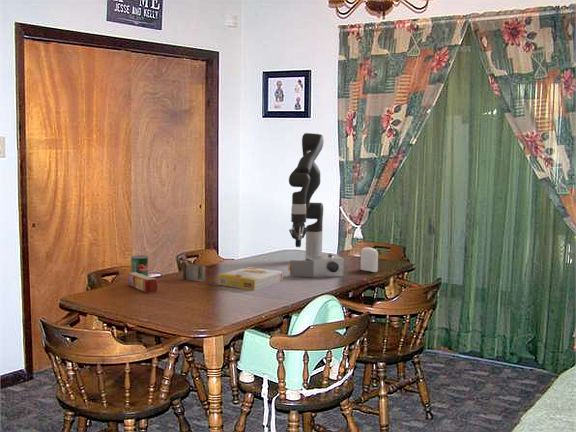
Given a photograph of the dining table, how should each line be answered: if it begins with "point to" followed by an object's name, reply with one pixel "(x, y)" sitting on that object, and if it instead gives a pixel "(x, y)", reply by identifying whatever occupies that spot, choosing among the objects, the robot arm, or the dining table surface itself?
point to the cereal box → (250, 278)
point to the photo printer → (369, 259)
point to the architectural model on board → (193, 272)
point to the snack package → (142, 282)
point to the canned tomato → (139, 264)
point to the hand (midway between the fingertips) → (298, 246)
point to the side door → (301, 268)
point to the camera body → (326, 265)
